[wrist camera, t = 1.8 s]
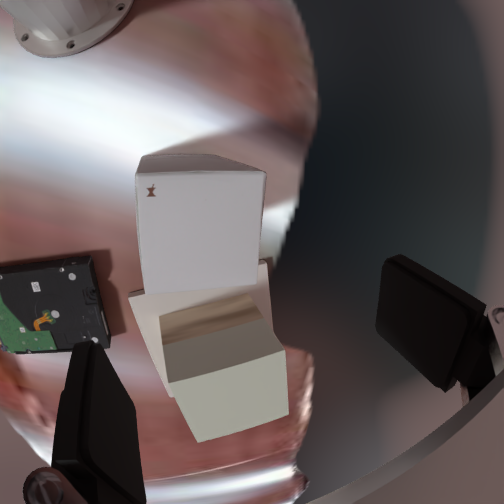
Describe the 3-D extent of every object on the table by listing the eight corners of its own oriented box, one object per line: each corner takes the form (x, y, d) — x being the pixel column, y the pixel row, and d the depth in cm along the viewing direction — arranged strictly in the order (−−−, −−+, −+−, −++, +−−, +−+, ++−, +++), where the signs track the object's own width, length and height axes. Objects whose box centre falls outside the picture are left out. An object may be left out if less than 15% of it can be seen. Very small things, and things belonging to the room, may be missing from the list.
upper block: (162, 345, 26) (168, 383, 22) (264, 317, 29) (285, 349, 24) (188, 408, 30) (197, 442, 26) (271, 383, 33) (288, 414, 28)
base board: (128, 293, 30) (128, 298, 29) (263, 259, 33) (266, 263, 32) (169, 392, 36) (170, 397, 35) (274, 362, 40) (276, 366, 39)
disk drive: (92, 250, 27) (-19, 268, 23) (88, 261, 25) (-29, 278, 20) (112, 334, 31) (10, 343, 27) (112, 349, 29) (4, 357, 24)
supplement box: (141, 232, 28) (140, 298, 17) (140, 154, 25) (132, 169, 14) (215, 228, 30) (258, 288, 19) (219, 154, 28) (269, 169, 16)
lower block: (158, 316, 31) (162, 345, 26) (247, 293, 33) (264, 317, 29) (181, 378, 35) (188, 408, 30) (257, 357, 37) (271, 383, 33)
